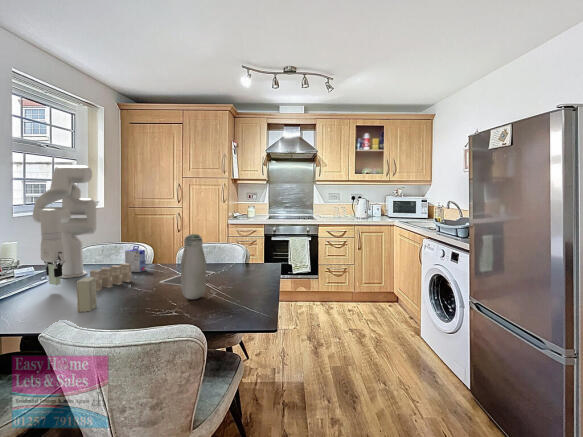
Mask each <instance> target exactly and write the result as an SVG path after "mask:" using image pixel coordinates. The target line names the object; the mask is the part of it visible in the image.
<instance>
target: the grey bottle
mask: <svg viewBox="0 0 583 437" xmlns="http://www.w3.org/2000/svg"><path fill="white" fill-rule="evenodd" d="M183 243H184V246H183V251H182V252H183V253H182V256H181V259H180V275H181V286H180V288H181V292H182V295H183V296H184V298H186V299H187V300H197V299H200V298H201V297H203V296H204V294H205V293H206V289H207V276H206V271H207V261H206V255H205V252H204V247H203V238H202V236H201V235H200V234H198V233H197V234H196V233H195V234H194V233H193V234H191V233H190V234H188V235H186V236H185V237H184V240H183Z"/></svg>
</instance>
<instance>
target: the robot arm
mask: <svg viewBox="0 0 583 437" xmlns="http://www.w3.org/2000/svg"><path fill="white" fill-rule="evenodd" d="M92 178H93V172H92V168H91V167H89V166H87V165H69V164H68V165H57V166H55V168H54V170H53V174H52V178H51V184H50V189H48V190H46V191H45V192H43V193H42V194H41V195H39V196H38V198H37V199H36V201H35V202H34V206H33V211H32V218H33V221H34V222H35V223H37V224H40V234H41V241H40V260H41V261H43V263H44V267H45V274H46V276H47V277H49V270H48V264H54V266H55V269H54V277H59V276H60V279H71V278H73V279H74V278H79V277H84V276H86V275H87V274H88V272H87V271H86V270H84V256H83V252H84V251H83V242H82V241H81V239H80V238H79V237H78V236H91V235H94V234H96V231H97V205H96V201H95V200H94V199H92V198H81V197H82V196H81V194H82V192H81V189H80V187H79V185H77V184H86V183H89V182H91V180H92ZM58 201H62V202H61V207H60V206H55V207H54V206H53V207H51V206H49V207H48V205H50V204H53V203H55V202H58ZM72 216H73V217H72ZM75 216H76V217H75ZM77 216H78V217H77ZM79 216H84V217H79Z"/></svg>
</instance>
